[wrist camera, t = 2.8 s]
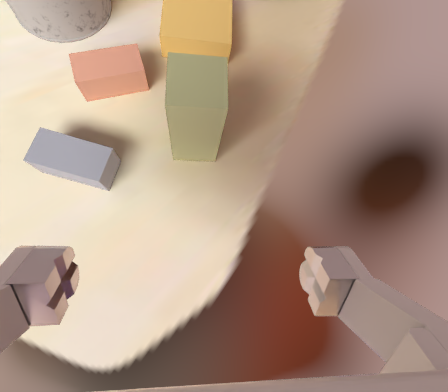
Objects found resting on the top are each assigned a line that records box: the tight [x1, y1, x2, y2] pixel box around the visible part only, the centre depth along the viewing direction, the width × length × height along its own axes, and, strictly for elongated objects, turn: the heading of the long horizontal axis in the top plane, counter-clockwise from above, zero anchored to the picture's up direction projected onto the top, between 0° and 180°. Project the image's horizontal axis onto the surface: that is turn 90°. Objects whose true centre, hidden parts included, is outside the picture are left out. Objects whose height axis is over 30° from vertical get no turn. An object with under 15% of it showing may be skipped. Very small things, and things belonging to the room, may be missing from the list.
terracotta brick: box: [69, 44, 149, 102], centre depth 25 cm, size 6×3×3 cm, turn 108°
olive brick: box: [165, 52, 228, 161], centre depth 22 cm, size 4×4×9 cm
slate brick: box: [24, 127, 121, 191], centre depth 23 cm, size 6×3×3 cm, turn 75°
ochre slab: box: [160, 0, 232, 61], centre depth 28 cm, size 7×7×3 cm
